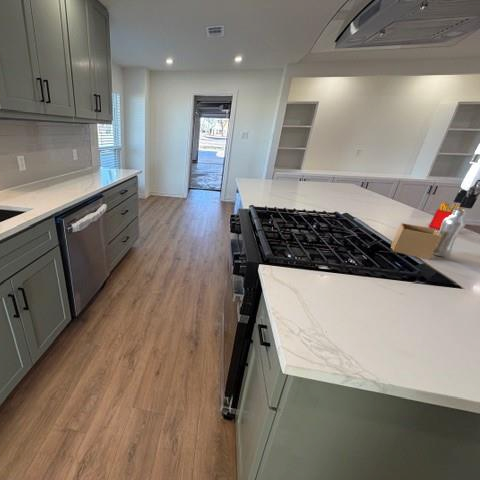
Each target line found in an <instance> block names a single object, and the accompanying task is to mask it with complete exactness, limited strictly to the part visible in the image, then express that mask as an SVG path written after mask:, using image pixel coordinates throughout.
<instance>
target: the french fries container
mask: <svg viewBox="0 0 480 480" xmlns="http://www.w3.org/2000/svg"><path fill="white" fill-rule="evenodd" d="M450 205H451V204H450V202H449V203H448V202H442V203H440V207H439V208H438V209H436V211H435V212H434V215H433V217H432V219H431V221H430V223H429V224H428V228H433V229H437V230H438V231H440V228H441V225H442V222H443V220H444V219H445V218H447V217H448V216H450V215H452V212H453V210H454V209H462V210H465V208H463V207H460V204H456V203H453V204H452V206H451V207H449V206H450Z"/></svg>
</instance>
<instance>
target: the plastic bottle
mask: <svg viewBox="0 0 480 480" xmlns="http://www.w3.org/2000/svg"><path fill="white" fill-rule="evenodd" d="M467 212H468V210H467V209H464V210H462V209H461V208H458V209H455V208H454V209H453V211H452V215H450V216H448V217H447V218H445V219H444V220H443V222H442V225H441V228H440V230H438V232H439V234H440V235H441V238H440V240H439V241H438V243H437V245H436V247H435V249H434V251H433V253H432V255H434V256H438V257H447V256H449V255H450V254H451V252H452V250H453V246H454V243H455V241H456V239H457V237H458V236H459V234H460V233H461V231H462V230H463V229H464V228H465V226H466V224H467V222H466V219H465V216H466V214H467Z"/></svg>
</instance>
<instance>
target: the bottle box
mask: <svg viewBox="0 0 480 480" xmlns="http://www.w3.org/2000/svg"><path fill="white" fill-rule="evenodd" d="M440 238H441V235H440V234H439V230H438V229H435V228H430V227H426V226H421V225H416V224H409V223H404V222H400V224H399V226H398V229H397V230H396V233H395V235H394V237H393V240H392V242H391V245H390V246H391V247H390V249H391V251H392V252H394V253H398V254H403V255H407V256H410V257H411V256H412V257H414V258H415V257H416V258H419V259H425V260H430V259H431V257H432V255H433V254H432V253H433V251H434V249H435V247H436V245H437V243H438V241H439V240H440Z"/></svg>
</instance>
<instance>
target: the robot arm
mask: <svg viewBox="0 0 480 480" xmlns="http://www.w3.org/2000/svg"><path fill="white" fill-rule="evenodd" d="M469 164H471V166H470V167H469V169H468V170H467V172H466V174H465V176H464V177H463V180H462V182H461V185H460V188H459V190H458V192H457V194H456V196H455V197H454V200H453V203H455V204H456V203H457V204H459V205H460V206H459V208H462V207H463V208H464V209H472V208H473V207H474V206H475V203H476V202H477V200H478V198H479V195H480V143H479V144H478V145H477V148H476V149H475V151H474V154H473V155H472V157H471V159H470V161H469Z"/></svg>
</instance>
